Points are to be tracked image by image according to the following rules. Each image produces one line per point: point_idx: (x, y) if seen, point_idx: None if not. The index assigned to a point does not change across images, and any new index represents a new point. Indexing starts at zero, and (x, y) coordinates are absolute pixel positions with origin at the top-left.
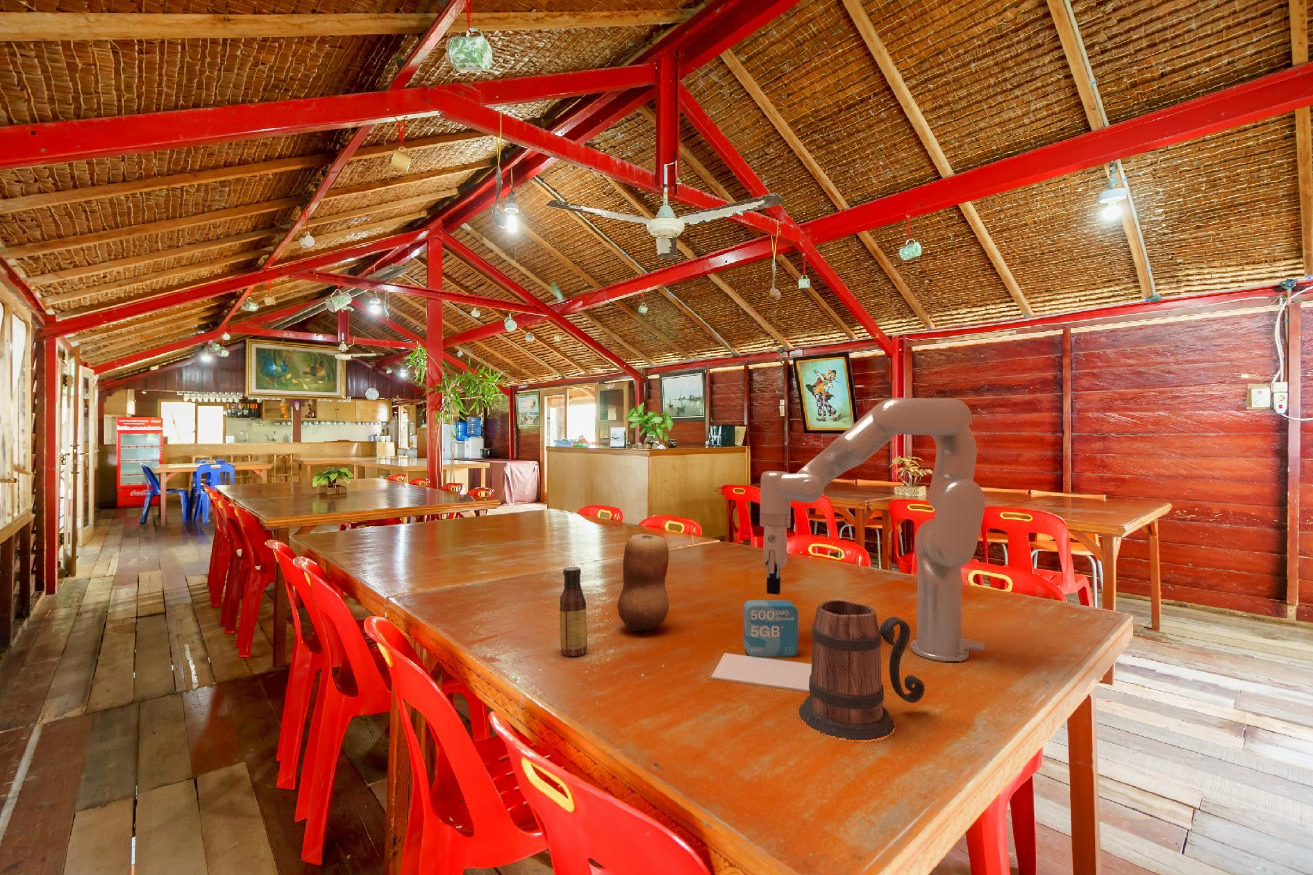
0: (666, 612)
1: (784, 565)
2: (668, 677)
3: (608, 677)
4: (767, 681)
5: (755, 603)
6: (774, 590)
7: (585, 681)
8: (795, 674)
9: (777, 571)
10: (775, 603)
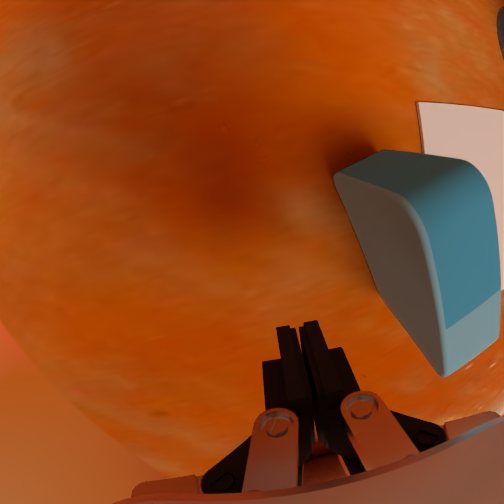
0: (337, 470)
1: (459, 452)
2: (501, 337)
3: (495, 384)
4: None
5: (482, 339)
6: (341, 352)
7: (500, 391)
8: (479, 141)
9: (406, 439)
10: (480, 275)
